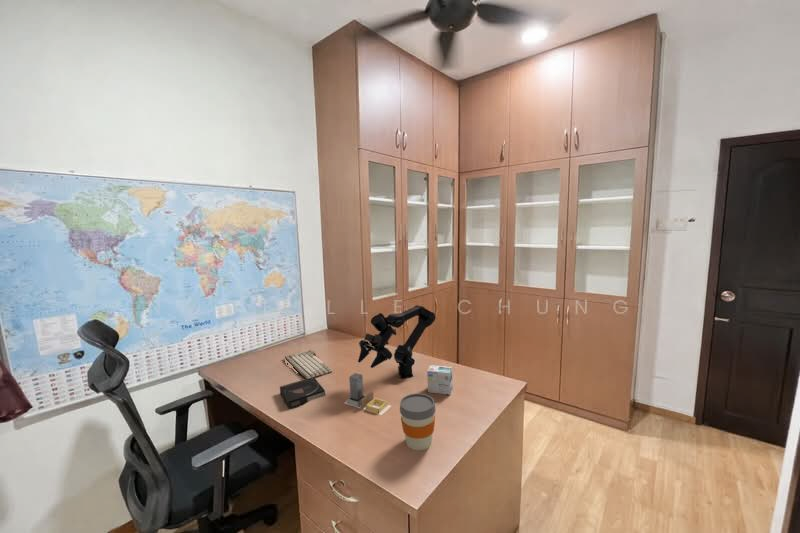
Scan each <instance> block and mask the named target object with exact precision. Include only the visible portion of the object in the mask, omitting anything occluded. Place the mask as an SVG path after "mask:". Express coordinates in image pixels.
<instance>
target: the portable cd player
mask: <svg viewBox="0 0 800 533" xmlns="http://www.w3.org/2000/svg"><path fill="white" fill-rule="evenodd" d="M279 392H280V393H279V394H280V396H281V398H282V397H283V398H282V400H283V399H284V400H283V402H284V403H285V405H286V407H287V408H288V410H291V409H292V410H293V409H295V408H298V407H300V406H303V405H306V404H307V403H309V402H310V401H314V400H317V399H320V398H323V397H326V391H325V389H324V387H323V386H322V385H321V384H320V383H319V381H318V380H317V378H314V377H312V378H308V379H301V380H297V381H295V382H291V383H289V384H283V385H280V386H279Z"/></svg>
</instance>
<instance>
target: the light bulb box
mask: <svg viewBox="0 0 800 533" xmlns="http://www.w3.org/2000/svg"><path fill="white" fill-rule="evenodd" d="M426 377H427V378H426V379H427V392H428V393H431V394H438V393H439V394H440V395H446V394H448V396H451V395H452V391H453V390H454V388H453V387H454V383H453V367H452V366H443V365H434V364H430V365H429V367H428V369H427V370H426ZM439 394H438V395H439ZM450 394H451V395H450Z"/></svg>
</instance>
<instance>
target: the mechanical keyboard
mask: <svg viewBox="0 0 800 533" xmlns="http://www.w3.org/2000/svg"><path fill="white" fill-rule="evenodd" d="M319 358H320V356H318V355H317V356H316V351H314V350H313V349H311V348H309V349H308V350H307V349H306V350H304V351H303V350H302V351H301V352H297V353H293V354H292V353H290V354H288V355H287V354H286V355H284V359H286V360H287V361H288V362H289V363H290V364H291V365H292V366H293V368H294V369H295V370H296V371H297V372H298V374H300V375H299V376H301V378H303V380H305V379H308V378H312V377H314V378H315V379H317V378H320V377H322V376H325V375H327V374H330V373H333V369H332V368H331V367H329V365H328V364H326V363H325V362H323V361H321V360H320V359H319ZM284 362H285V361H284ZM284 362H283V363H284ZM287 365H288V363H287ZM287 365H286V366H287Z"/></svg>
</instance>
